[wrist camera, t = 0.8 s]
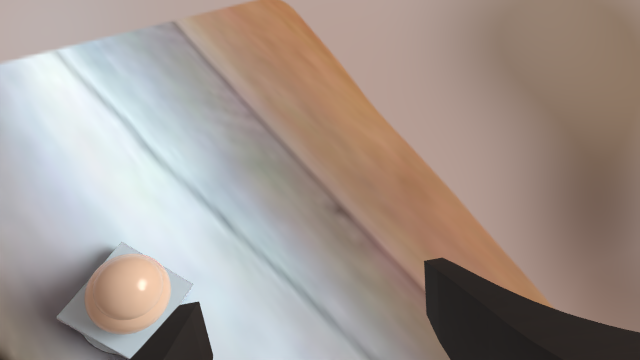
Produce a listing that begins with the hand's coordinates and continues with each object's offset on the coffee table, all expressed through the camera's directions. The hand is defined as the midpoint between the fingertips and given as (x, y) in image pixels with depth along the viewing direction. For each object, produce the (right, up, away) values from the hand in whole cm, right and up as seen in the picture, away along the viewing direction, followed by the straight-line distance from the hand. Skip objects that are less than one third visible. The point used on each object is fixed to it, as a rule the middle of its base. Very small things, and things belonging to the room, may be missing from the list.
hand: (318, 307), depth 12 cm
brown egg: (-12, -4, +13) cm, 18 cm away
